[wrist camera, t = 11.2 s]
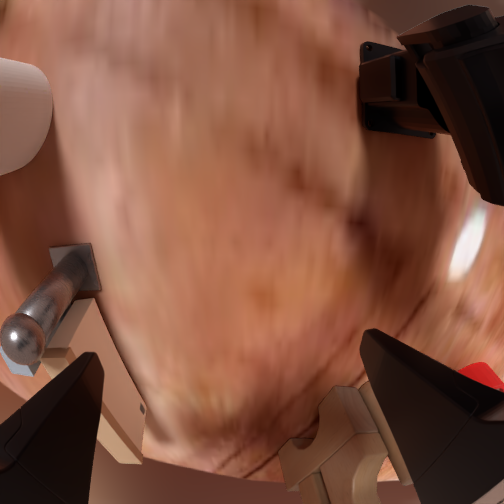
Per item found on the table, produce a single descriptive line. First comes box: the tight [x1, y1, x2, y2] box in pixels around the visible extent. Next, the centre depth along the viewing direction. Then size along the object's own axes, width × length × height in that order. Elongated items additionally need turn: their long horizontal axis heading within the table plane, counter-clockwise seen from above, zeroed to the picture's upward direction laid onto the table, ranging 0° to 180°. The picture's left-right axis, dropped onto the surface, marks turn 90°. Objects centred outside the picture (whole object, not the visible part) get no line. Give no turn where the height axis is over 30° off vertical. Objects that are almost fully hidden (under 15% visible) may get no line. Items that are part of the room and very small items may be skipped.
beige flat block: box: [40, 298, 147, 464], centre depth 20 cm, size 13×2×7 cm, turn 8°
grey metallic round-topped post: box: [0, 243, 101, 365], centre depth 15 cm, size 4×4×10 cm
